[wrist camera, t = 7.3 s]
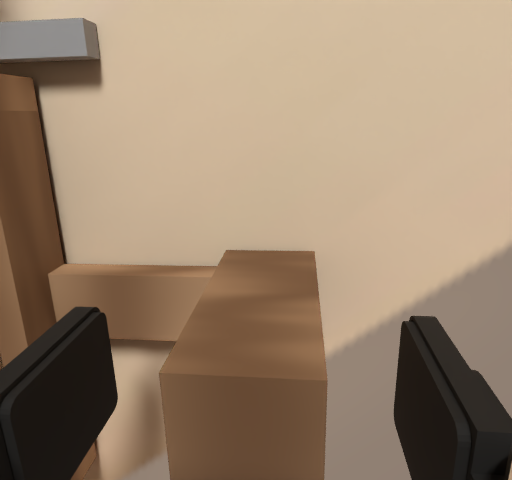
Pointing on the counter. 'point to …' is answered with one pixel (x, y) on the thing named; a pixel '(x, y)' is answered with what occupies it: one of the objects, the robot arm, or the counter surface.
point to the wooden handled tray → (175, 325)
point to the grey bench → (48, 40)
